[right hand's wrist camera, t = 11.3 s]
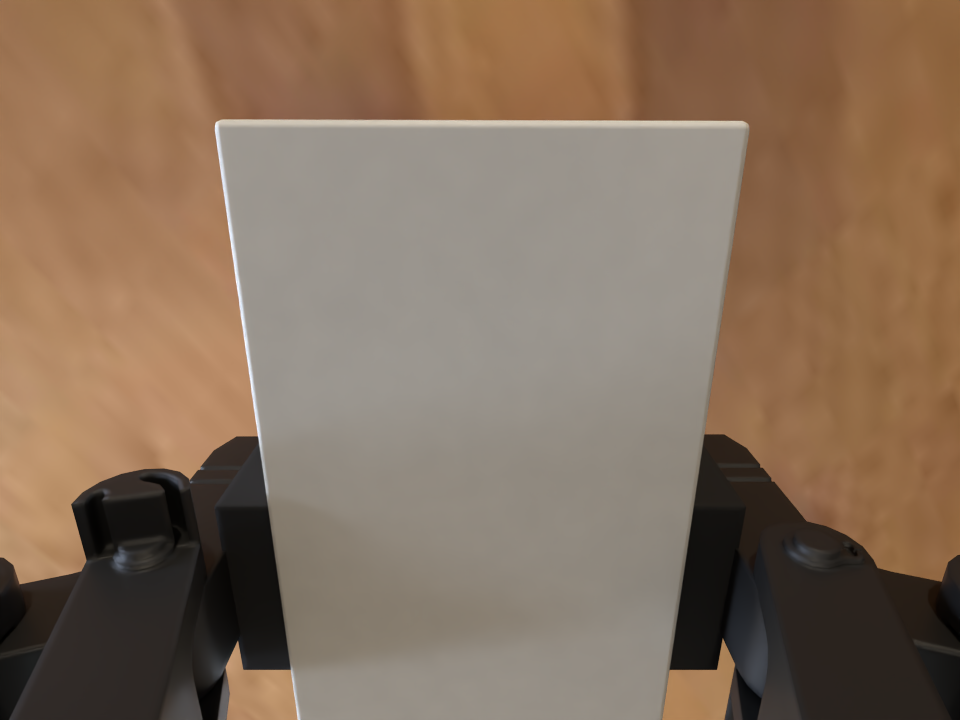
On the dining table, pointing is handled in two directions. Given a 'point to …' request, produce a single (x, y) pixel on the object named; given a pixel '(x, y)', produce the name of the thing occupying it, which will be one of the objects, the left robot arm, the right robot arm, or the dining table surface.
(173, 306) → the dining table surface
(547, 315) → the post
